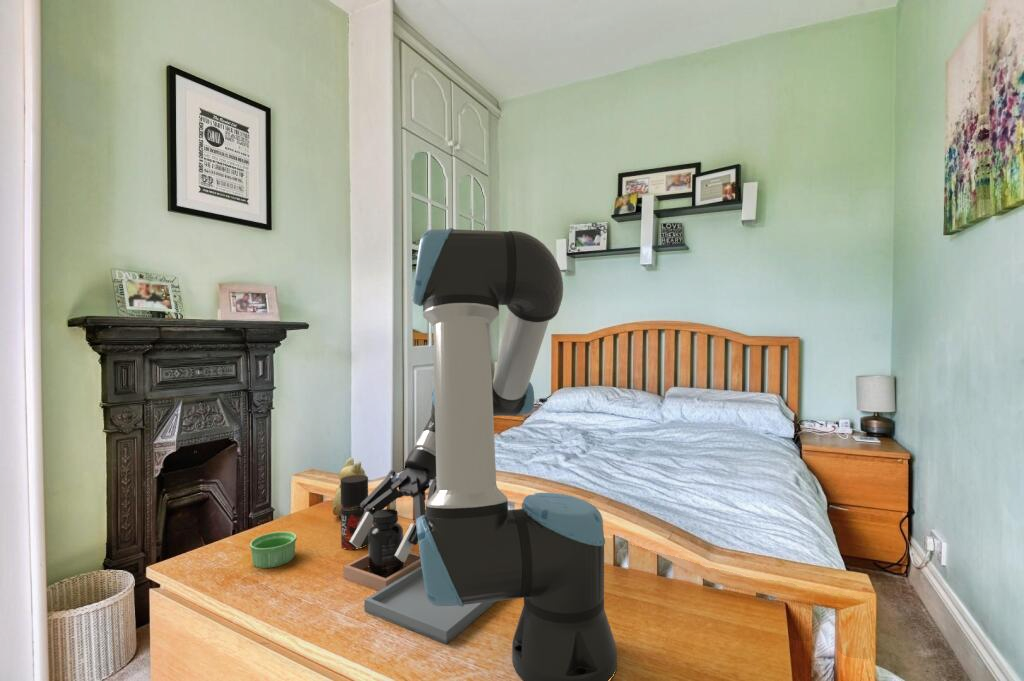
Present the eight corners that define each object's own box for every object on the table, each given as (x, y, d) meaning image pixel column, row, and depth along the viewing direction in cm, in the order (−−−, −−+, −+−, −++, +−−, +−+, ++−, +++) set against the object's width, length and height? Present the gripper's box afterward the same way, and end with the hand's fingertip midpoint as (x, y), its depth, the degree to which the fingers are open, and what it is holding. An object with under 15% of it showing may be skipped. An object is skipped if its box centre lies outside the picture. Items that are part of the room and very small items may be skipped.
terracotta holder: (427, 567, 101) (427, 556, 101) (385, 593, 91) (385, 581, 91) (386, 554, 107) (386, 544, 107) (343, 577, 97) (343, 566, 97)
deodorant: (335, 548, 111) (334, 481, 110) (351, 537, 116) (350, 474, 116) (358, 551, 109) (357, 483, 109) (373, 540, 115) (373, 476, 114)
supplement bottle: (408, 565, 102) (407, 507, 102) (397, 581, 95) (396, 519, 95) (376, 564, 103) (375, 506, 103) (363, 580, 96) (362, 518, 96)
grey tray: (508, 592, 91) (508, 581, 91) (446, 644, 76) (446, 631, 76) (433, 568, 101) (432, 558, 101) (364, 611, 85) (364, 599, 85)
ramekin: (305, 553, 109) (305, 533, 108) (276, 572, 100) (276, 550, 100) (271, 549, 111) (270, 529, 111) (239, 567, 102) (239, 546, 102)
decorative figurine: (372, 516, 130) (372, 459, 129) (343, 526, 123) (343, 466, 123) (353, 508, 136) (352, 454, 136) (324, 516, 130) (324, 459, 130)
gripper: (479, 473, 106) (432, 574, 93) (396, 459, 118) (345, 546, 105) (463, 453, 101) (412, 557, 88) (379, 441, 114) (324, 530, 101)
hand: (376, 551), depth 97 cm, fingers open, 12 cm apart
